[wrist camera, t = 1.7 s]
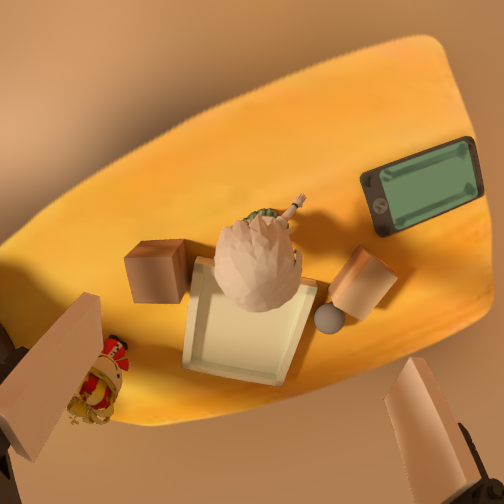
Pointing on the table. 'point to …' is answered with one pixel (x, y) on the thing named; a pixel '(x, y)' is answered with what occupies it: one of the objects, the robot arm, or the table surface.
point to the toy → (101, 384)
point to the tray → (241, 331)
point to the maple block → (361, 284)
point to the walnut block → (158, 271)
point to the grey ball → (329, 318)
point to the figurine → (259, 260)
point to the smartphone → (422, 185)
